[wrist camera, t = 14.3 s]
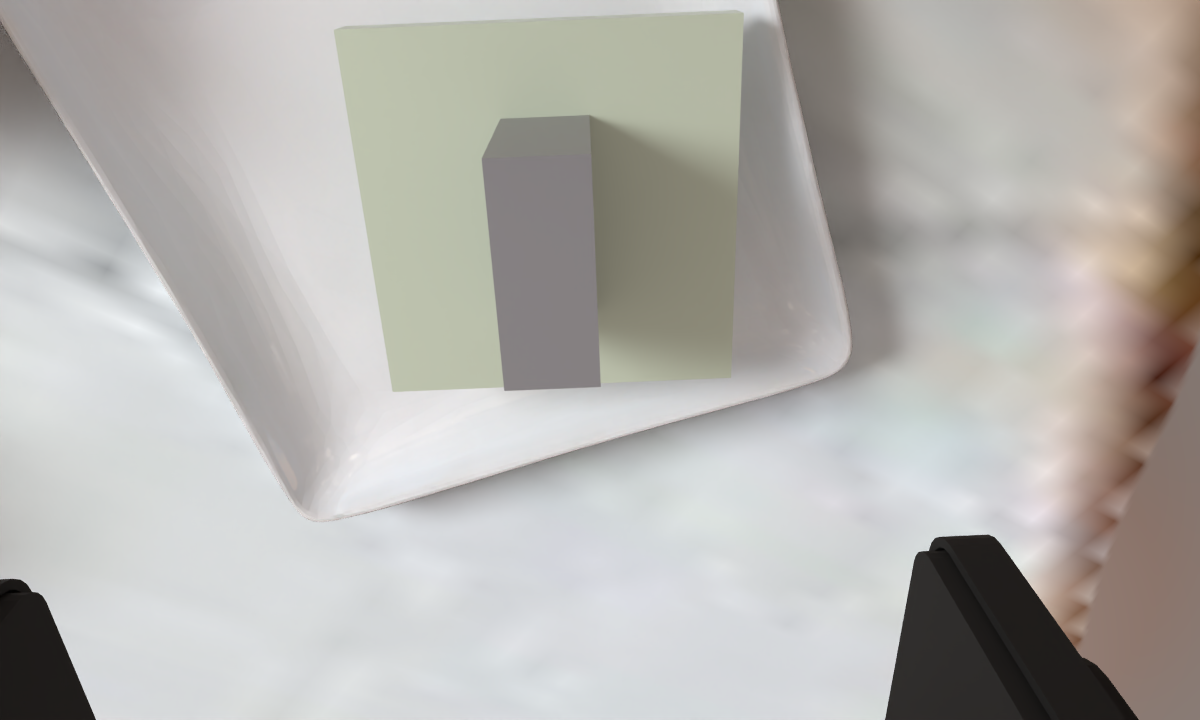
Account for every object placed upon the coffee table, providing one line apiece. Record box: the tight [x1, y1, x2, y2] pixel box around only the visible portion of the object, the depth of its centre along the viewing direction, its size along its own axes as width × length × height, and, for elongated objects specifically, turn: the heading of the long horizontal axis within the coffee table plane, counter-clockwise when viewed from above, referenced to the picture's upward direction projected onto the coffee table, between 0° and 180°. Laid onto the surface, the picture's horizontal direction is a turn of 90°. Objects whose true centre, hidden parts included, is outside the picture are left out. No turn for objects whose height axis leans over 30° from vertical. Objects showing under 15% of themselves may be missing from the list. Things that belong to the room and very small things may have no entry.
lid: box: [334, 10, 744, 392], centre depth 23 cm, size 11×11×6 cm
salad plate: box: [0, 0, 852, 522], centre depth 27 cm, size 21×21×3 cm
